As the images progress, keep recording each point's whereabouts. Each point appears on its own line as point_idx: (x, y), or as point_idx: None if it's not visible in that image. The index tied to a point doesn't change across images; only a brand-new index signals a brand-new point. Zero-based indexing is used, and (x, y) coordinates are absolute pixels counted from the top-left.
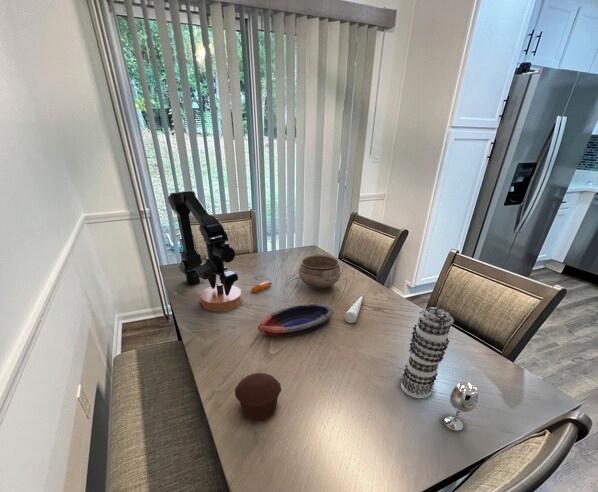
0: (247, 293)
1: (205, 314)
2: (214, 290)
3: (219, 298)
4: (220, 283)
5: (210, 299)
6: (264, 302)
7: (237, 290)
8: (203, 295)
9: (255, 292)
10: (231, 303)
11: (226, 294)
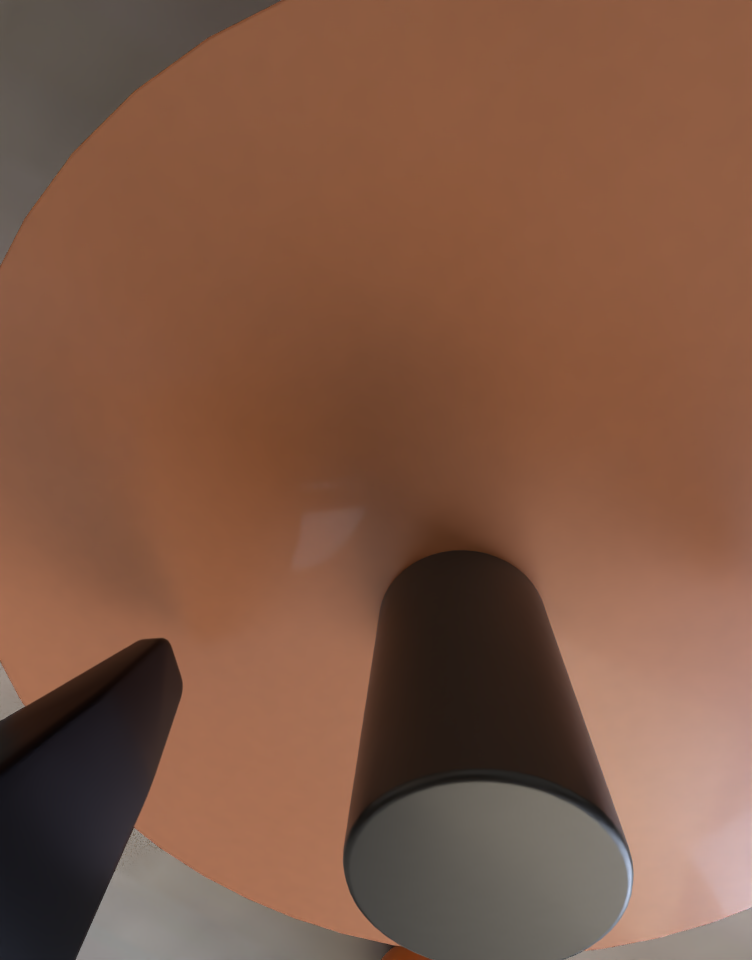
0: None
1: (214, 10)
2: (735, 594)
3: (209, 462)
4: (537, 944)
5: (283, 221)
6: (120, 875)
7: (347, 895)
8: (711, 159)
9: (386, 954)
10: None
11: (105, 665)
